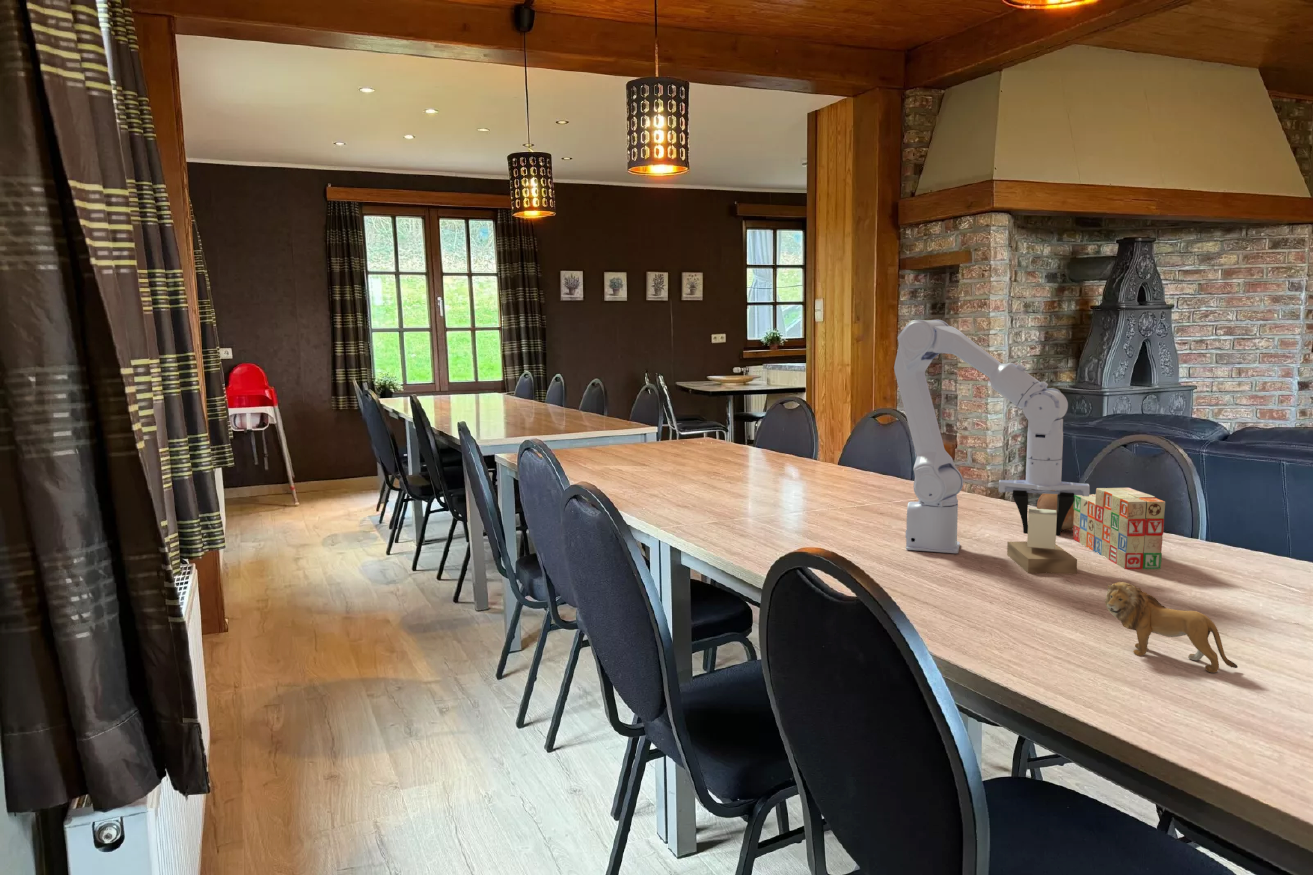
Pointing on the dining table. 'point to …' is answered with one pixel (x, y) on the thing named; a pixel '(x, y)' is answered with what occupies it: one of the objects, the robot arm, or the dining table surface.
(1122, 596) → the lion figurine
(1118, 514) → the stack of blocks
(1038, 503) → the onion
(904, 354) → the robot arm
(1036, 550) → the tan block
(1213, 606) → the dining table surface
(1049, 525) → the cream block
